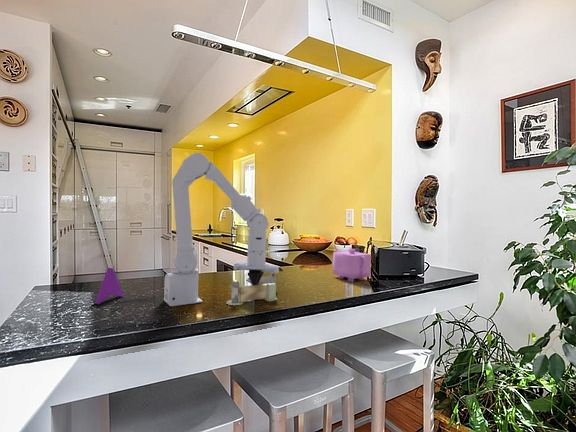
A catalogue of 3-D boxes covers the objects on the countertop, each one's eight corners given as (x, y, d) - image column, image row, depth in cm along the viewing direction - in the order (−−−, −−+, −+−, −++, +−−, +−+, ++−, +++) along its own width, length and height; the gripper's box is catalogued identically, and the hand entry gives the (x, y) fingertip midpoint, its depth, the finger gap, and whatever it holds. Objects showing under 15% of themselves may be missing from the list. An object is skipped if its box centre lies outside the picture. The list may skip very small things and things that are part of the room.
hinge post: (230, 306, 96) (231, 283, 96) (223, 302, 100) (224, 279, 100) (246, 304, 99) (246, 281, 99) (238, 300, 103) (239, 278, 103)
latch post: (268, 301, 103) (268, 285, 103) (264, 299, 105) (265, 283, 105) (277, 300, 105) (277, 284, 104) (273, 298, 106) (274, 282, 106)
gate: (240, 301, 100) (241, 287, 100) (238, 300, 101) (238, 286, 101) (273, 297, 106) (273, 284, 106) (270, 295, 108) (270, 282, 107)
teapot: (374, 281, 136) (375, 250, 136) (356, 284, 131) (357, 252, 130) (341, 273, 153) (342, 245, 153) (324, 274, 148) (325, 246, 147)
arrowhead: (111, 315, 100) (90, 297, 93) (107, 314, 100) (86, 296, 94) (130, 286, 106) (112, 267, 100) (126, 285, 107) (108, 267, 100)
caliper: (276, 291, 116) (276, 273, 116) (273, 292, 115) (273, 274, 115) (248, 280, 133) (248, 265, 132) (245, 281, 132) (246, 265, 132)
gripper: (230, 251, 104) (228, 294, 104) (274, 254, 100) (273, 299, 101) (239, 248, 111) (237, 289, 111) (281, 251, 107) (279, 293, 107)
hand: (255, 293), depth 106 cm, fingers closed, pressing on gate
